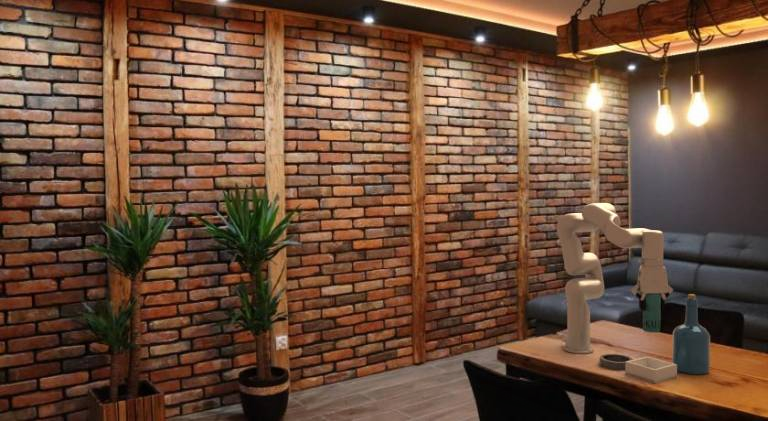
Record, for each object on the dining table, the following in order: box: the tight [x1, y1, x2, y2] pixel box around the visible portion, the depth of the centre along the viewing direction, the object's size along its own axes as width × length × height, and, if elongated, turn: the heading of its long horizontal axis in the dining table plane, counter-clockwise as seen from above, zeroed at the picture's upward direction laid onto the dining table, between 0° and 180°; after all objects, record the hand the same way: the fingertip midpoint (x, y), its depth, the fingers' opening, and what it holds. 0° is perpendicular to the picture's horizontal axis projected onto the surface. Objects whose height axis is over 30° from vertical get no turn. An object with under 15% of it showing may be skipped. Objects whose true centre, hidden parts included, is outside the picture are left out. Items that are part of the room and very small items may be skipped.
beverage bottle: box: [641, 294, 662, 334], centre depth 245 cm, size 6×7×20 cm
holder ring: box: [598, 353, 634, 371], centre depth 260 cm, size 12×12×3 cm
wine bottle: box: [671, 293, 711, 376], centre depth 252 cm, size 14×13×30 cm
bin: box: [624, 355, 678, 384], centre depth 246 cm, size 13×13×5 cm
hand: (651, 309), depth 245 cm, fingers closed on beverage bottle, 6 cm apart
